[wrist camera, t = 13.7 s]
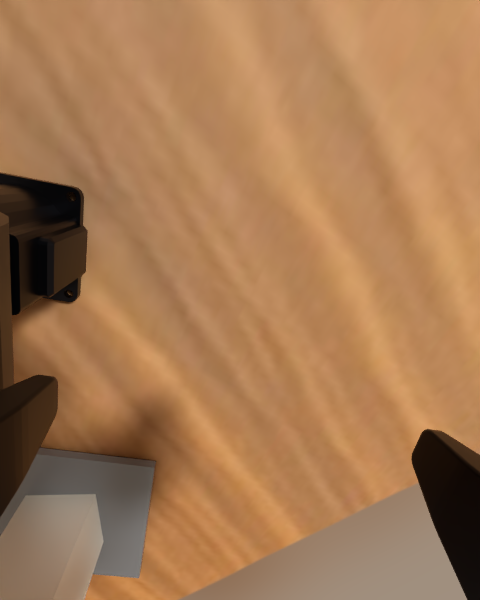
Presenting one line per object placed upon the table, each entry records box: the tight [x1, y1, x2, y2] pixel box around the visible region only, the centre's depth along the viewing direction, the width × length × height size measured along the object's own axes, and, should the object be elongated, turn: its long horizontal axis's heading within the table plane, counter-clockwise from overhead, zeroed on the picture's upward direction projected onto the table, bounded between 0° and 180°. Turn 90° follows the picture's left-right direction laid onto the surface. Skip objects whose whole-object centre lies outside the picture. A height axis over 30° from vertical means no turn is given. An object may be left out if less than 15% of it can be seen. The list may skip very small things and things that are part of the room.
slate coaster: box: [0, 448, 156, 578], centre depth 26 cm, size 12×12×1 cm
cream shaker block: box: [0, 494, 104, 600], centre depth 22 cm, size 5×5×10 cm
